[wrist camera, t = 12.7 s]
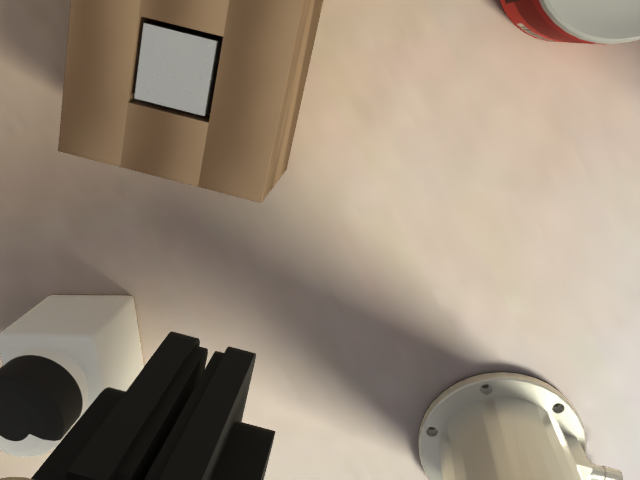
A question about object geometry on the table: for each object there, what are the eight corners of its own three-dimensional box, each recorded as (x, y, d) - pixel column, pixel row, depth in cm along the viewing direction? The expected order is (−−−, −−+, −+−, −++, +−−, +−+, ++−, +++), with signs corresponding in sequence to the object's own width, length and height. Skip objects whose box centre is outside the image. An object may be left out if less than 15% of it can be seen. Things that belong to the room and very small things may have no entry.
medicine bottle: (48, 293, 48) (-56, 372, 37) (134, 293, 47) (55, 374, 36) (64, 372, 50) (-30, 469, 39) (146, 374, 50) (75, 474, 38)
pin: (249, 40, 39) (216, 41, 32) (238, 101, 41) (204, 116, 33) (190, 25, 40) (143, 22, 32) (181, 86, 41) (134, 98, 33)
